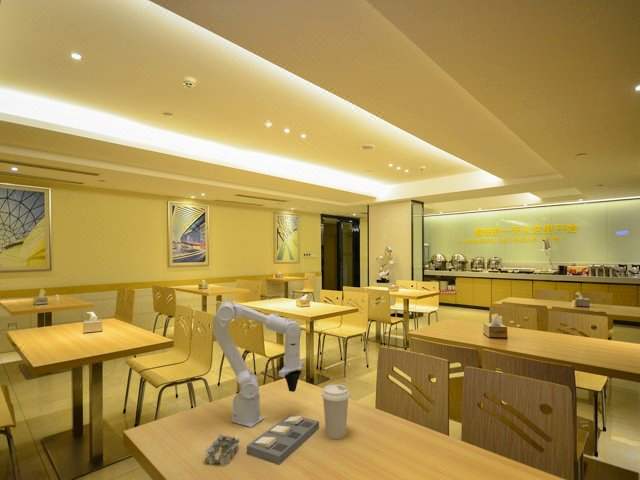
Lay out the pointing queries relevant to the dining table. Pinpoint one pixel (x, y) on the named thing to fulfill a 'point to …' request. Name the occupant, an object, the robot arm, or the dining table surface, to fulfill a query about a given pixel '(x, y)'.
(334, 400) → the coffee cup
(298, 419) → the labelled cream tile
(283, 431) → the rocker middle
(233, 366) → the robot arm
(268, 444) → the rocker carton end
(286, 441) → the grey rocker switch panel
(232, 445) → the egg carton
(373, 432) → the dining table surface
